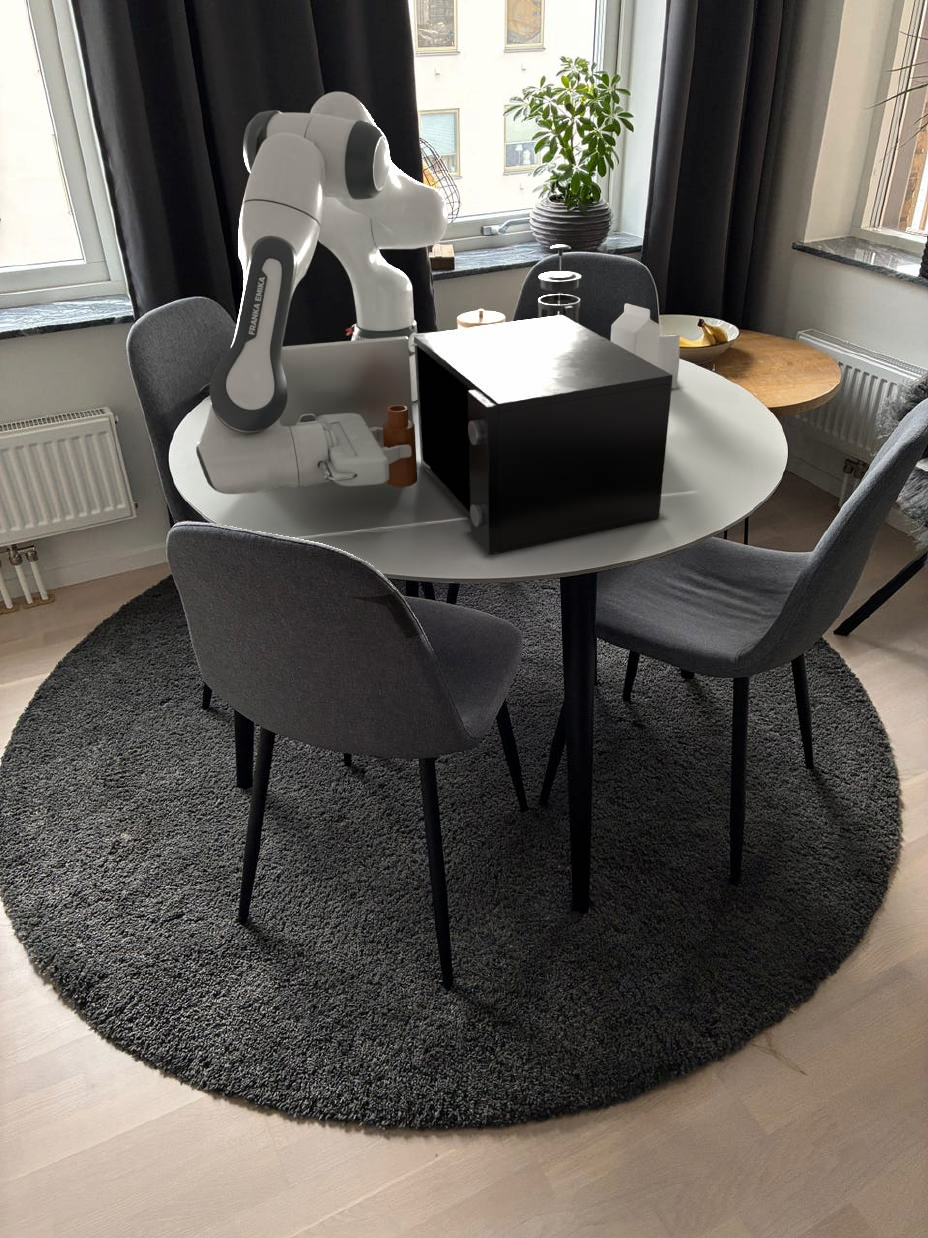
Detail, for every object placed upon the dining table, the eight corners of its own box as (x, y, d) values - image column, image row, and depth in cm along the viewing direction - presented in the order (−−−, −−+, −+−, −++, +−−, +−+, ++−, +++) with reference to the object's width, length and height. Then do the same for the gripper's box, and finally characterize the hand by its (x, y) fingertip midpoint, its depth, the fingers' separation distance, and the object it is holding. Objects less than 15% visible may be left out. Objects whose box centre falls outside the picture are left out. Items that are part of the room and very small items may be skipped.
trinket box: (511, 346, 214) (511, 304, 209) (497, 360, 206) (496, 317, 200) (466, 343, 217) (465, 301, 212) (451, 357, 209) (449, 314, 203)
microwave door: (256, 467, 160) (235, 340, 148) (409, 451, 164) (401, 326, 152) (256, 484, 154) (235, 353, 142) (415, 466, 158) (408, 338, 147)
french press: (529, 350, 211) (530, 242, 199) (568, 345, 213) (571, 238, 201) (548, 365, 202) (550, 253, 189) (588, 360, 204) (593, 249, 191)
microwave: (484, 556, 132) (481, 406, 120) (407, 467, 159) (399, 337, 147) (659, 518, 140) (672, 374, 128) (558, 439, 167) (562, 314, 155)
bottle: (383, 486, 141) (378, 413, 135) (390, 473, 145) (385, 402, 139) (413, 487, 141) (410, 414, 135) (419, 475, 145) (416, 403, 138)
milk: (628, 439, 167) (637, 313, 154) (604, 429, 171) (611, 306, 159) (652, 430, 170) (663, 306, 157) (628, 420, 174) (636, 299, 161)
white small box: (676, 387, 188) (681, 338, 182) (642, 389, 188) (646, 339, 182) (672, 381, 191) (677, 332, 185) (639, 383, 191) (643, 333, 185)
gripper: (323, 460, 127) (422, 446, 130) (300, 410, 143) (388, 399, 146) (327, 502, 130) (424, 488, 133) (305, 449, 147) (391, 437, 150)
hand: (405, 441), depth 140 cm, fingers closed on bottle, 5 cm apart
